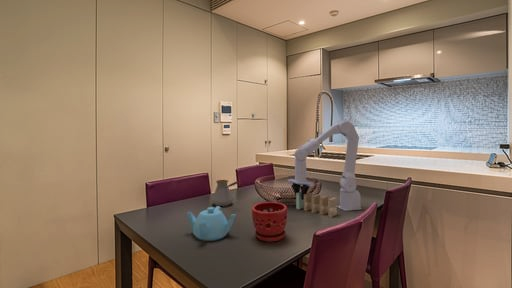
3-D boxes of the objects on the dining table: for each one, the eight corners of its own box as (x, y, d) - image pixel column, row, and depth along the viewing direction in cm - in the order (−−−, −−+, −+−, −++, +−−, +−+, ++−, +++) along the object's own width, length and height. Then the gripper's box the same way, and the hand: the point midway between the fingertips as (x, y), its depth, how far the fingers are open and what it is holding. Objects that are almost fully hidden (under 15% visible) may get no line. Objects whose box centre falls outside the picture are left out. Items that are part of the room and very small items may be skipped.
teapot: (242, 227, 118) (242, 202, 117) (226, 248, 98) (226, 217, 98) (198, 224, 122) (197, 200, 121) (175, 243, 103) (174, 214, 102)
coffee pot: (207, 204, 153) (207, 176, 152) (225, 200, 160) (225, 174, 159) (230, 213, 136) (229, 182, 135) (248, 209, 144) (248, 179, 143)
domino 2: (311, 212, 137) (311, 196, 136) (317, 210, 140) (317, 194, 140) (314, 213, 136) (314, 196, 135) (320, 210, 139) (320, 194, 139)
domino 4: (328, 216, 131) (328, 199, 130) (333, 213, 134) (333, 197, 134) (331, 217, 130) (331, 200, 129) (336, 214, 133) (336, 197, 133)
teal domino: (296, 208, 143) (296, 193, 142) (301, 206, 147) (301, 191, 146) (298, 209, 142) (298, 193, 141) (304, 207, 146) (304, 191, 145)
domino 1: (303, 210, 140) (303, 194, 139) (309, 208, 144) (309, 192, 143) (306, 211, 139) (306, 195, 138) (312, 208, 142) (312, 193, 142)
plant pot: (254, 230, 114) (253, 201, 114) (287, 231, 113) (286, 201, 112) (250, 244, 102) (249, 211, 101) (287, 245, 100) (287, 211, 99)
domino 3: (319, 214, 134) (319, 197, 133) (325, 212, 137) (325, 195, 137) (322, 215, 133) (322, 198, 132) (328, 212, 136) (328, 196, 136)
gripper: (284, 171, 145) (284, 197, 146) (308, 175, 135) (308, 203, 136) (292, 170, 150) (292, 195, 151) (316, 173, 140) (316, 200, 141)
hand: (300, 198), depth 144 cm, fingers open, 3 cm apart
